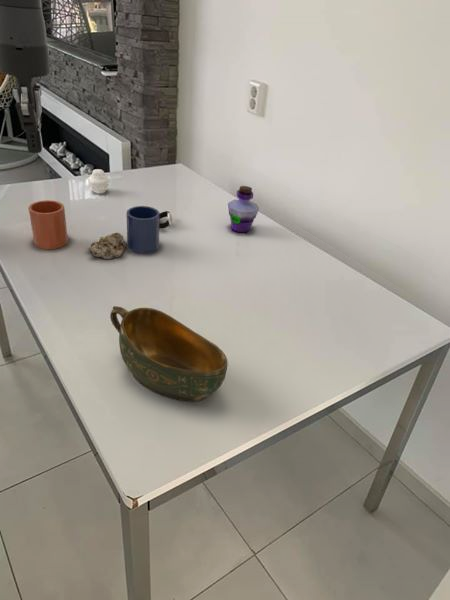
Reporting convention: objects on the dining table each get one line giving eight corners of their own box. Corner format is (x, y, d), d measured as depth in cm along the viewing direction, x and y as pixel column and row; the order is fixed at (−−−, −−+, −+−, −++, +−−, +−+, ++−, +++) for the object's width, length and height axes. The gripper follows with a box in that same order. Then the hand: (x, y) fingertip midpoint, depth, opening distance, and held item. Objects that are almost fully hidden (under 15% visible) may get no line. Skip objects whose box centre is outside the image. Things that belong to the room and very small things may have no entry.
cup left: (30, 248, 105) (24, 212, 100) (38, 233, 112) (33, 199, 107) (64, 250, 106) (59, 214, 101) (70, 235, 113) (66, 201, 107)
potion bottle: (222, 232, 122) (226, 190, 115) (227, 219, 129) (232, 179, 122) (253, 238, 121) (260, 195, 114) (257, 224, 128) (263, 184, 121)
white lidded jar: (113, 190, 138) (112, 168, 134) (103, 197, 134) (102, 174, 130) (95, 186, 140) (94, 164, 136) (84, 192, 135) (82, 170, 131)
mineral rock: (114, 255, 102) (84, 238, 102) (110, 270, 104) (80, 253, 105) (137, 238, 111) (109, 222, 111) (133, 252, 113) (106, 236, 114)
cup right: (126, 253, 108) (125, 218, 103) (129, 238, 114) (128, 205, 109) (158, 254, 109) (158, 220, 104) (159, 239, 115) (160, 207, 110)
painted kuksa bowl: (172, 331, 86) (174, 286, 80) (230, 401, 73) (238, 354, 67) (107, 351, 79) (104, 305, 74) (158, 433, 66) (159, 384, 60)
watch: (170, 231, 119) (170, 219, 117) (152, 229, 119) (152, 217, 117) (173, 219, 126) (174, 207, 124) (156, 217, 126) (157, 205, 124)
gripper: (1, 32, 74) (17, 139, 84) (-13, 43, 64) (7, 163, 74) (50, 37, 76) (59, 141, 86) (43, 48, 66) (55, 165, 76)
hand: (35, 151), depth 80 cm, fingers closed
